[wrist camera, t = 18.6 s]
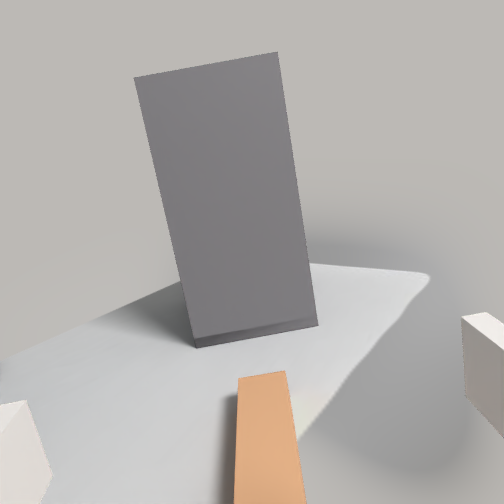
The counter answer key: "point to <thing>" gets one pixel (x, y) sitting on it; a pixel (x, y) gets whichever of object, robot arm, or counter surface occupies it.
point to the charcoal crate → (230, 197)
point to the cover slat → (266, 443)
